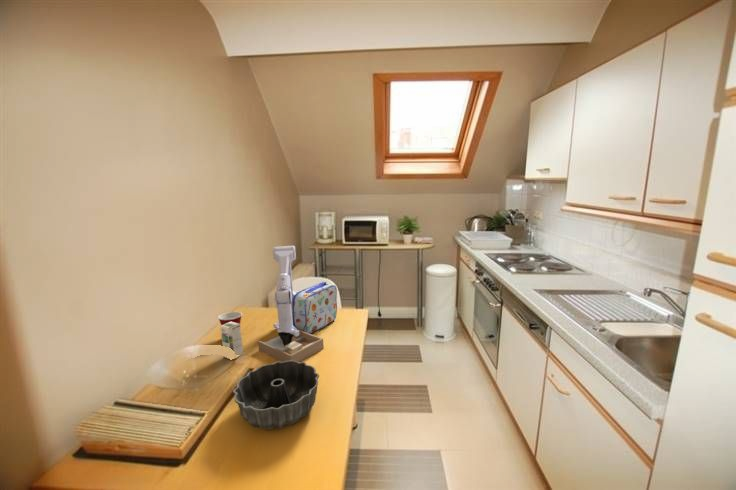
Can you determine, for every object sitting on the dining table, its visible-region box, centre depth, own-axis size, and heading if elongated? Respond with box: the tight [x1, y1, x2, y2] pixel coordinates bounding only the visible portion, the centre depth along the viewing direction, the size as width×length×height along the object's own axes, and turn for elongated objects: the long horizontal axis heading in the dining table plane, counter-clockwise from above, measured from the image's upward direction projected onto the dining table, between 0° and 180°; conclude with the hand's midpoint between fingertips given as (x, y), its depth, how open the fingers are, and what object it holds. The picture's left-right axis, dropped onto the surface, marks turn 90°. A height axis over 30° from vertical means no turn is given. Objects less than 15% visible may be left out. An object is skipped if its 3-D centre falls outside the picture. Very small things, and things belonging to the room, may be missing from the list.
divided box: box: [257, 329, 325, 362], centre depth 147 cm, size 22×18×4 cm
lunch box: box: [292, 281, 338, 334], centre depth 168 cm, size 28×10×22 cm, turn 150°
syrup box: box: [220, 322, 244, 356], centre depth 141 cm, size 6×6×14 cm
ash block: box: [285, 341, 302, 355], centre depth 140 cm, size 5×5×3 cm
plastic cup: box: [217, 311, 243, 327], centre depth 158 cm, size 11×11×12 cm
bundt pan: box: [232, 360, 320, 430], centre depth 107 cm, size 26×26×10 cm
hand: (287, 347), depth 142 cm, fingers closed
